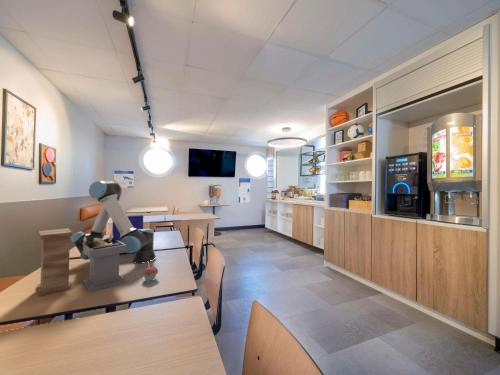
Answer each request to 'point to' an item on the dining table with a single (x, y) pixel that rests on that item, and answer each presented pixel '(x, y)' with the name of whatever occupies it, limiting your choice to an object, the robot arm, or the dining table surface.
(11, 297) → the dining table surface
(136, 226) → the cereal box
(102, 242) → the pin
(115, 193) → the robot arm
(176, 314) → the dining table surface
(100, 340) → the dining table surface
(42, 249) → the pin stand
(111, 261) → the tray stand
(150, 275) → the cupcake
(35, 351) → the dining table surface
